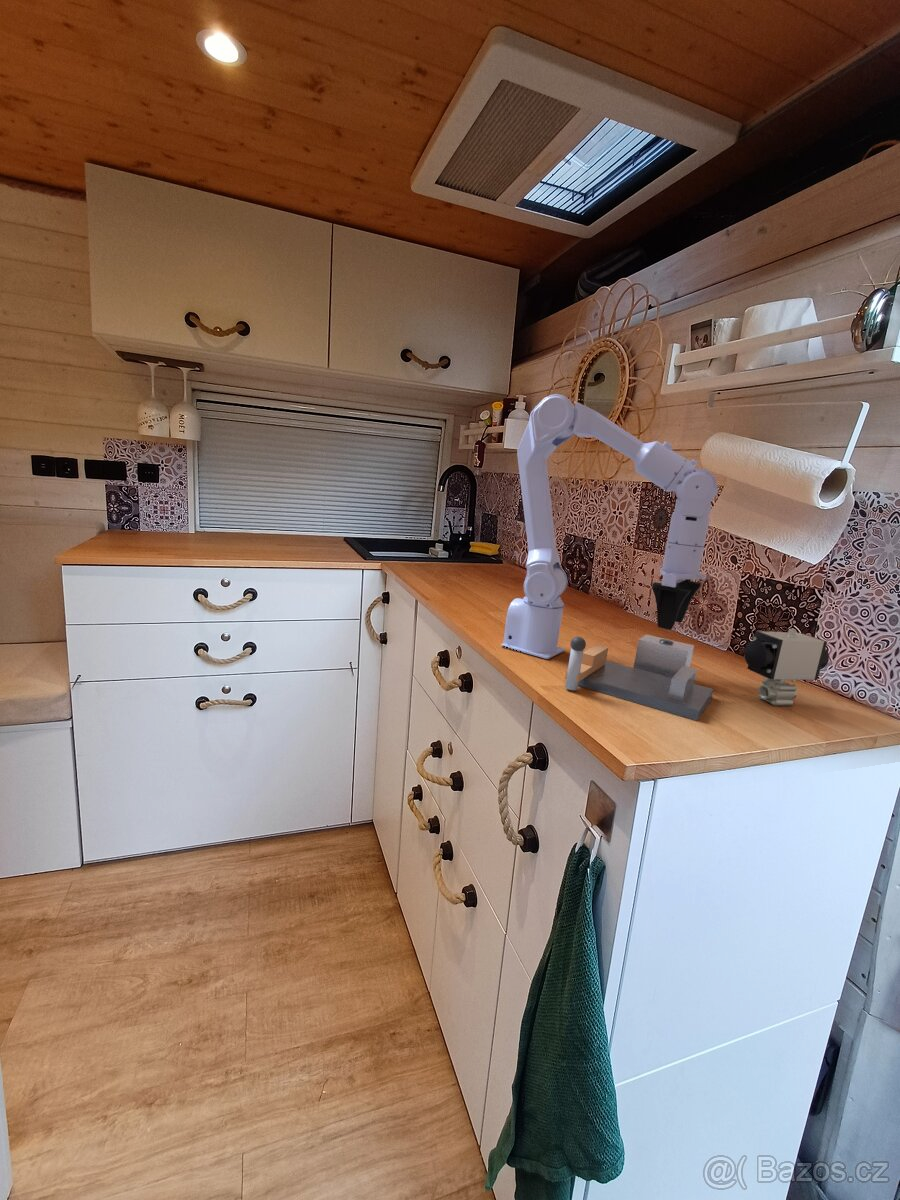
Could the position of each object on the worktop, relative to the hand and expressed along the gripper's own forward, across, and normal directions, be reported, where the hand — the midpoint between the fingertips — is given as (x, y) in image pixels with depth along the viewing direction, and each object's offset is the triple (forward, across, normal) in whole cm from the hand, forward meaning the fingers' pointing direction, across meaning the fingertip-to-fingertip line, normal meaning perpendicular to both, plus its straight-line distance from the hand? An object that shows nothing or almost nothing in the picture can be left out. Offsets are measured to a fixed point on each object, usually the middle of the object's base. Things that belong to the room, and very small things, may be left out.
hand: (669, 624), depth 94 cm
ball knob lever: (+9, -14, +8) cm, 19 cm away
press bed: (+9, -11, 0) cm, 14 cm away
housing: (+9, 0, 0) cm, 9 cm away
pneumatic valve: (+9, +2, -17) cm, 19 cm away
